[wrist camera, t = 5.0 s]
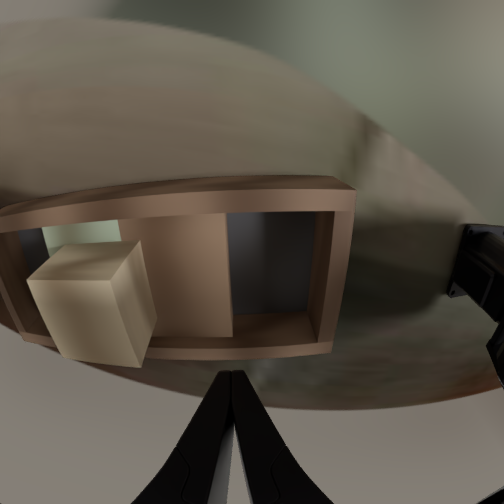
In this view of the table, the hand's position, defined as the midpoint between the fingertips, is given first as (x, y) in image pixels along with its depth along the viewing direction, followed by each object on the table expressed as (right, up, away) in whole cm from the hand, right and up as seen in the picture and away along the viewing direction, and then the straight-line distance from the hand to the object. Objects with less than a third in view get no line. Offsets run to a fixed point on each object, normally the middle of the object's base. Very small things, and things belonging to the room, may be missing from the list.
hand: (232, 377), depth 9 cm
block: (-7, +3, +6) cm, 10 cm away
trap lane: (-6, +4, +8) cm, 11 cm away
